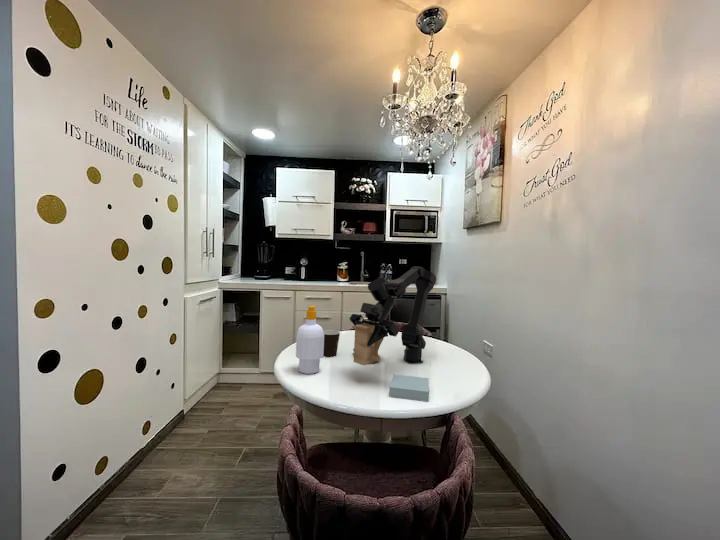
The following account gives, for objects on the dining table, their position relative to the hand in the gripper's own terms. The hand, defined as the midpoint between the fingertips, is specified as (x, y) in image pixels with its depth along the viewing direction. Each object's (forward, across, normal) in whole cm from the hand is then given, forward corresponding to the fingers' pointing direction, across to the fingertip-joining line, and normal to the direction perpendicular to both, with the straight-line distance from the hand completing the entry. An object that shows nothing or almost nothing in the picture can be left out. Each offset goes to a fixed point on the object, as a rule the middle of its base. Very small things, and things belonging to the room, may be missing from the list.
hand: (362, 343), depth 112 cm
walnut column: (+4, 0, +6) cm, 7 cm away
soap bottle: (+13, -21, +6) cm, 25 cm away
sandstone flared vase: (-7, -15, +26) cm, 31 cm away
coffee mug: (-2, -30, +21) cm, 37 cm away
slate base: (+5, +16, +14) cm, 22 cm away
